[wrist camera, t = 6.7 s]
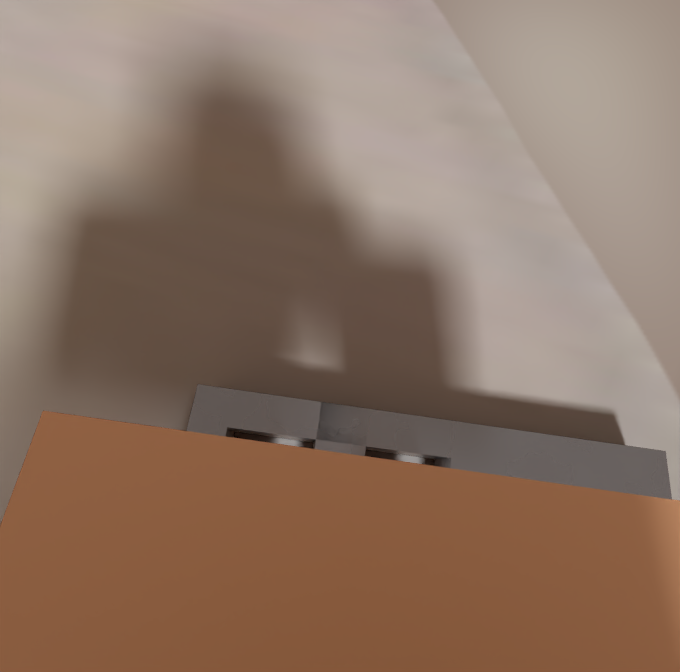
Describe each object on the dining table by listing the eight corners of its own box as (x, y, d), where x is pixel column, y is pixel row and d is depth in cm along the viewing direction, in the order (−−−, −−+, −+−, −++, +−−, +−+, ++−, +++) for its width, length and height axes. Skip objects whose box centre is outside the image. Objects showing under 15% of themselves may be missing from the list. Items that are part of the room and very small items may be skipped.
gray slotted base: (629, 452, 19) (665, 451, 17) (652, 681, 16) (699, 709, 14) (208, 392, 18) (197, 384, 16) (152, 629, 15) (132, 652, 13)
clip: (429, 484, 15) (950, 538, 3) (423, 604, 14) (1266, 1480, 2) (247, 458, 15) (41, 410, 3) (223, 580, 14) (-365, 1507, 1)
